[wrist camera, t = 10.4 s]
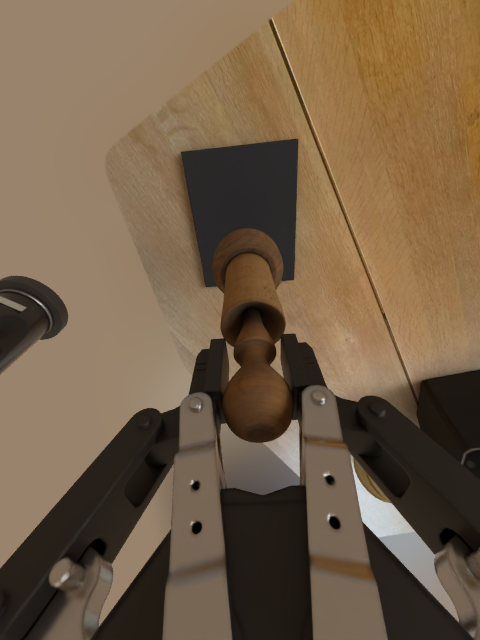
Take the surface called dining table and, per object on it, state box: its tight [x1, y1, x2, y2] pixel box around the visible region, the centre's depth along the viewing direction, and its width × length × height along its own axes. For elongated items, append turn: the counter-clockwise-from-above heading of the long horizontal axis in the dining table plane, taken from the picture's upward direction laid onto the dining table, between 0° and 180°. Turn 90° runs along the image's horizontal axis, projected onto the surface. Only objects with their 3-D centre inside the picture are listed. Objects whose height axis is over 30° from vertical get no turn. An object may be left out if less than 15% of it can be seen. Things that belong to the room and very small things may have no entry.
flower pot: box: [417, 371, 480, 479], centre depth 48 cm, size 19×19×17 cm
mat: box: [181, 139, 298, 287], centre depth 35 cm, size 14×18×1 cm
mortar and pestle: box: [212, 228, 294, 443], centre depth 17 cm, size 7×6×18 cm
